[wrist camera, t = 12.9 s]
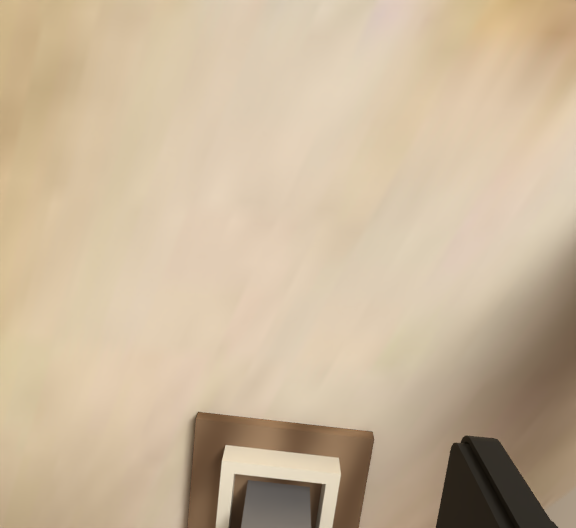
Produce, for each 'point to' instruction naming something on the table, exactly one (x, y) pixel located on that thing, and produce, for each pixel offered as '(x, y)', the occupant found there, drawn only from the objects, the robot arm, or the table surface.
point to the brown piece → (276, 468)
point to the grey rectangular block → (276, 506)
